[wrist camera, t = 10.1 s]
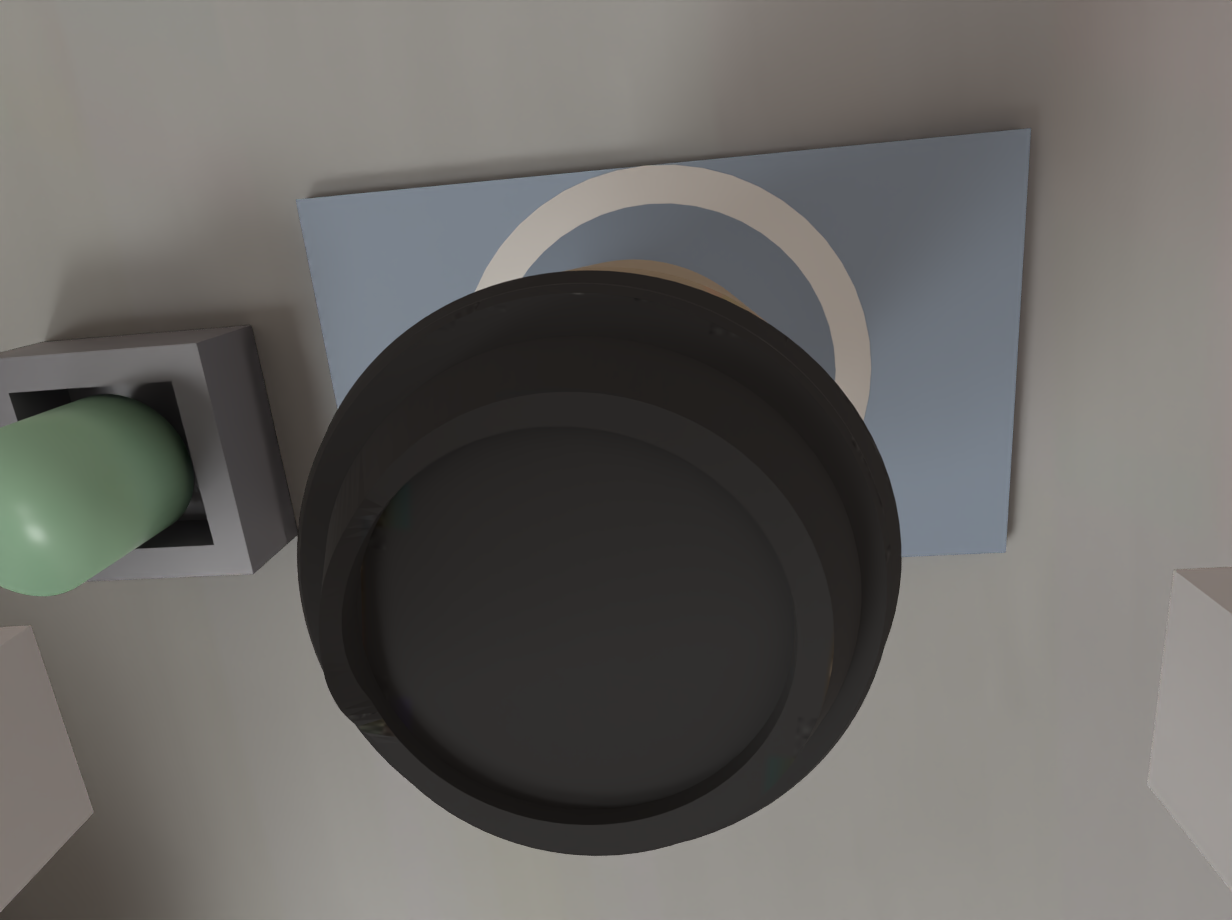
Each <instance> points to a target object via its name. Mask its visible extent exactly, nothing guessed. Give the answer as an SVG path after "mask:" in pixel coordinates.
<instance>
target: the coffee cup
mask: <svg viewBox="0 0 1232 920" xmlns="http://www.w3.org/2000/svg"><path fill="white" fill-rule="evenodd" d="M297 568H298V581H299V590H300V596H301V602H302V608H303V612H304V617H305V621H306V625H307V628H308V632H309V635H310V638H311V641H312V644H313V647H314V650H315V653H316V655H317V658H318V660H319V663H320V665H321V667H322V669H323V672H324V675H325V679H326V682H327V685H328V688H329V690H330V692H331V694H332V696H333V698H334V700H335V702H336V704H337V705H338V707H339V708H340V710H341V711H342V712H343V713H344V714H345V715H346V716H347V717H348V718H349V719H350V720H351V721H352V722H353V723H354V724H355V725H356V726H357V728H358V729H359V730H360V732H361V733H362V734H363V735H364V737H365V738H366V739H367V740H368V741H369V742H370V744H371V745H372V746H373V747H374V748H375V749H376V751H377V752H378V753H379V754H380V755H381V756H382V757H383V758H384V759H385V760H386V761H387V762H388V763H389V764H390V765H391V766H392V767H393V768H395V769H396V770H397V771H398V772H399V773H400V774H401V775H402V776H403V777H405V778H406V779H407V780H408V781H410V782H411V783H412V784H413V785H414V786H415V787H416V788H418V789H419V790H420V791H421V792H422V793H423V794H425V795H426V796H427V797H429V798H430V799H431V800H432V801H434V802H435V803H436V804H438V805H439V806H441V807H442V808H444V809H445V810H447V811H448V812H450V813H451V814H453V815H455V816H456V817H458V818H460V819H461V820H463V821H465V822H467V823H469V824H471V825H472V826H474V827H477V828H479V829H481V830H483V831H485V832H487V833H490V834H492V835H494V836H497V837H500V838H502V839H505V840H508V841H511V842H514V843H517V844H521V845H524V846H528V847H531V848H536V849H540V850H545V851H550V852H557V853H563V854H573V855H588V856H608V855H623V854H632V853H639V852H645V851H650V850H655V849H659V848H663V847H667V846H671V845H674V844H677V843H681V842H685V841H689V840H692V839H696V838H699V837H702V836H704V835H707V834H710V833H713V832H716V831H718V830H720V829H723V828H725V827H727V826H730V825H732V824H734V823H736V822H738V821H740V820H742V819H744V818H746V817H748V816H750V815H752V814H753V813H755V812H757V811H759V810H760V809H762V808H764V807H765V806H767V805H769V804H770V803H772V802H773V801H775V800H776V799H778V798H779V797H780V796H782V795H783V794H785V793H786V792H787V791H789V790H790V789H791V788H792V787H794V786H795V785H796V784H797V783H798V782H800V781H801V780H802V779H803V778H804V777H805V776H806V775H808V774H809V773H810V772H811V771H812V770H813V769H814V768H815V767H816V766H817V765H818V764H819V763H820V762H821V761H822V760H823V758H824V757H825V756H826V755H827V754H828V753H829V752H830V751H831V749H832V748H833V747H834V746H835V744H836V743H837V742H838V740H839V739H840V738H841V736H842V735H843V734H844V732H845V731H846V729H847V728H848V727H849V725H850V723H851V722H852V720H853V719H854V717H855V715H856V714H857V712H858V710H859V709H860V707H861V705H862V703H863V701H864V699H865V697H866V695H867V693H868V691H869V689H870V686H871V684H872V682H873V679H874V677H875V674H876V671H877V669H878V666H879V663H880V660H881V657H882V653H883V649H884V646H885V643H886V641H887V638H888V635H889V632H890V629H891V626H892V622H893V618H894V615H895V611H896V605H897V600H898V594H899V588H900V578H901V534H900V523H899V517H898V512H897V506H896V501H895V497H894V493H893V489H892V486H891V482H890V478H889V476H888V473H887V470H886V467H885V465H884V462H883V459H882V457H881V454H880V452H879V450H878V448H877V446H876V444H875V442H874V439H873V437H872V435H871V433H870V432H869V430H868V428H867V426H866V425H865V423H864V421H863V419H862V418H861V416H860V415H859V413H858V412H857V410H856V408H855V407H854V405H853V404H852V403H851V401H850V400H849V399H848V397H847V396H846V395H845V393H844V392H843V391H842V389H841V388H840V387H839V385H838V384H837V383H836V382H835V381H834V380H833V379H832V378H831V377H830V375H829V374H828V373H827V372H826V371H825V370H824V369H823V368H822V367H821V366H820V365H819V364H818V363H817V362H816V361H815V360H814V359H813V358H812V357H811V356H810V355H809V354H808V353H807V352H806V351H804V350H803V349H802V348H801V347H800V346H799V345H797V344H796V343H795V342H794V341H792V340H791V339H790V338H789V337H787V336H786V335H785V334H783V333H782V332H780V331H779V330H778V329H776V328H775V327H773V326H772V325H770V324H769V323H767V322H766V321H765V320H764V319H762V318H761V317H760V316H759V315H757V314H756V313H755V312H754V311H752V310H751V309H750V308H749V307H747V306H746V305H745V304H744V303H742V302H741V301H740V300H739V299H737V298H736V297H735V296H734V295H732V294H731V293H730V292H728V291H727V290H726V289H724V288H723V287H722V286H720V285H718V284H717V283H715V282H714V281H712V280H710V279H708V278H706V277H704V276H703V275H701V274H698V273H696V272H694V271H691V270H689V269H686V268H683V267H680V266H677V265H673V264H669V263H664V262H658V261H652V260H636V259H632V260H616V261H609V262H603V263H599V264H594V265H589V266H585V267H580V268H575V269H571V270H566V271H561V272H552V273H545V274H538V275H533V276H527V277H522V278H518V279H514V280H510V281H506V282H502V283H499V284H496V285H493V286H490V287H487V288H484V289H481V290H478V291H476V292H473V293H471V294H468V295H466V296H464V297H462V298H459V299H457V300H455V301H453V302H451V303H449V304H447V305H445V306H444V307H442V308H440V309H438V310H436V311H435V312H433V313H431V314H430V315H428V316H426V317H425V318H423V319H422V320H420V321H419V322H417V323H416V324H414V325H413V326H412V327H410V328H409V329H408V330H406V331H405V332H404V333H403V334H401V335H400V336H399V337H398V338H396V339H395V340H394V341H393V342H392V343H391V344H390V345H389V346H387V347H386V348H385V349H384V350H383V351H382V352H381V353H380V354H379V355H378V356H377V357H376V358H375V359H374V360H373V361H372V363H371V364H370V365H369V366H368V367H367V368H366V369H365V371H364V372H363V373H362V374H361V375H360V377H359V378H358V379H357V381H356V382H355V383H354V385H353V386H352V387H351V389H350V390H349V392H348V393H347V395H346V396H345V398H344V400H343V401H342V403H341V405H340V406H339V408H338V410H337V412H336V413H335V415H334V417H333V419H332V421H331V423H330V425H329V427H328V430H327V432H326V434H325V437H324V439H323V441H322V443H321V445H320V448H319V450H318V452H317V455H316V457H315V460H314V462H313V465H312V468H311V471H310V474H309V477H308V481H307V484H306V488H305V492H304V496H303V501H302V506H301V512H300V519H299V528H298V541H297Z"/></svg>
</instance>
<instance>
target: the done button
mask: <svg viewBox="0 0 1232 920" xmlns="http://www.w3.org/2000/svg"><path fill="white" fill-rule="evenodd" d="M193 488H194V471H193V466H192V461H191V458H190V455H189V452H188V450H187V448H186V446H185V444H184V442H183V440H182V439H181V437H180V435H179V434H178V433H177V431H176V430H175V429H174V427H173V426H172V425H171V424H170V423H169V422H168V421H167V420H166V419H165V418H164V417H163V416H161V415H160V414H159V413H158V412H157V411H155V410H154V409H152V408H151V407H149V406H147V405H145V404H144V403H142V402H140V401H137V400H135V399H132V398H129V397H125V396H121V395H115V394H98V395H92V396H89V397H85V398H82V399H79V400H77V401H74V402H71V403H68V404H65V405H63V406H60V407H57V408H54V409H51V410H49V411H46V412H43V413H40V414H37V415H34V416H32V417H29V418H26V419H23V420H20V421H18V422H15V423H12V424H9V425H6V426H4V427H1V428H0V586H1V587H3V588H5V589H8V590H11V591H13V592H17V593H21V594H25V595H32V596H52V595H58V594H62V593H65V592H68V591H70V590H73V589H74V588H76V587H78V586H79V585H81V584H82V583H84V582H85V581H87V580H88V579H90V578H92V577H93V576H95V575H96V574H98V573H99V572H101V571H102V570H104V569H105V568H107V567H108V566H110V565H111V564H113V563H114V562H116V561H117V560H119V559H120V558H122V557H123V556H125V555H126V554H128V553H129V552H131V551H133V550H134V549H136V548H137V547H139V546H140V545H142V544H143V543H145V542H146V541H148V540H149V539H151V538H152V537H154V536H155V535H157V534H158V533H160V532H161V531H163V530H164V529H166V528H167V527H169V526H170V525H172V524H173V523H175V522H176V521H177V520H178V519H179V518H180V517H181V516H182V515H183V513H184V512H185V510H186V509H187V507H188V505H189V503H190V500H191V498H192V493H193Z"/></svg>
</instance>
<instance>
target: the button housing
mask: <svg viewBox="0 0 1232 920" xmlns="http://www.w3.org/2000/svg"><path fill="white" fill-rule="evenodd" d="M98 394H115V395H121V396H125V397H129V398H132V399H135V400H137V401H140V402H142V403H144V404H145V405H147V406H149V407H151V408H152V409H154V410H155V411H157V412H158V413H159V414H160V415H161V416H163V417H164V418H165V419H166V420H167V421H168V422H169V423H170V424H171V425H172V426H173V427H174V429H175V430H176V431H177V433H178V434H179V435H180V437H181V439H182V440H183V442H184V444H185V446H186V448H187V450H188V452H189V455H190V458H191V461H192V466H193V471H194V488H193V493H192V498H191V500H190V503H189V505H188V507H187V509H186V510H185V512H184V513H183V515H182V516H181V517H180V518H179V519H178V520H177V521H176V522H175V523H173V524H172V525H170V526H169V527H167V528H166V529H164V530H163V531H161V532H160V533H158V534H157V535H155V536H154V537H152V538H151V539H149V540H148V541H146V542H145V543H143V544H142V545H140V546H139V547H137V548H136V549H134V550H133V551H131V552H129V553H128V554H126V555H125V556H123V557H122V558H120V559H119V560H117V561H116V562H114V563H113V564H111V565H110V566H108V567H107V568H105V569H104V570H102V571H101V572H99V573H98V574H96V575H95V576H93V577H92V578H90V579H88V580H87V581H109V580H132V579H154V578H177V577H199V576H222V575H244V574H254V573H255V572H256V571H257V570H259V569H260V568H261V567H262V566H263V565H264V564H265V563H266V562H268V561H269V560H270V559H271V558H272V557H273V556H274V555H275V554H276V553H278V552H279V551H280V550H281V549H282V548H283V547H284V546H285V545H287V544H288V543H289V542H290V541H291V540H292V539H293V538H294V537H296V536H297V535H298V531H297V527H296V522H295V518H294V513H293V509H292V504H291V500H290V495H289V491H288V487H287V482H286V478H285V473H284V469H283V464H282V460H281V455H280V451H279V447H278V442H277V438H276V433H275V429H274V424H273V420H272V415H271V411H270V407H269V402H268V398H267V393H266V389H265V384H264V380H263V375H262V371H261V367H260V362H259V358H258V353H257V349H256V344H255V340H254V335H253V331H252V327H251V325H247V326H234V327H222V328H209V329H197V330H184V331H172V332H159V333H147V334H134V335H122V336H109V337H97V338H84V339H72V340H59V341H47V342H40V343H36V344H32V345H28V346H24V347H20V348H16V349H12V350H8V351H4V352H0V428H1V427H4V426H6V425H9V424H12V423H15V422H18V421H20V420H23V419H26V418H29V417H32V416H34V415H37V414H40V413H43V412H46V411H49V410H51V409H54V408H57V407H60V406H63V405H65V404H68V403H71V402H74V401H77V400H79V399H82V398H85V397H89V396H92V395H98ZM87 581H85V582H87Z"/></svg>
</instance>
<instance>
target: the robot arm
mask: <svg viewBox="0 0 1232 920" xmlns="http://www.w3.org/2000/svg"><path fill="white" fill-rule="evenodd" d="M1147 785H1148V787H1149V788H1150V789H1151V790H1152V792H1153V793H1154V794H1155V795H1156V797H1157V798H1158V799H1159V800H1160V802H1161V803H1162V804H1163V806H1164V807H1165V808H1166V809H1167V811H1168V812H1169V813H1170V814H1171V816H1172V817H1173V818H1174V819H1175V821H1176V822H1177V823H1178V824H1179V826H1180V827H1181V828H1182V830H1183V831H1184V832H1185V833H1186V835H1187V836H1188V837H1189V838H1190V840H1191V841H1192V842H1193V843H1194V845H1195V846H1196V847H1197V849H1198V850H1199V851H1200V852H1201V854H1202V855H1203V856H1204V857H1205V859H1206V860H1207V861H1208V862H1209V864H1210V865H1211V866H1212V867H1213V869H1214V870H1215V871H1216V873H1217V874H1218V875H1219V876H1220V878H1221V879H1222V880H1223V881H1224V883H1225V884H1226V885H1227V886H1228V888H1229V889H1230V890H1231V892H1232V567H1218V568H1198V569H1177V570H1174V571H1173V579H1172V587H1171V595H1170V603H1169V611H1168V620H1167V628H1166V636H1165V644H1164V652H1163V660H1162V668H1161V676H1160V684H1159V693H1158V701H1157V709H1156V717H1155V725H1154V733H1153V741H1152V749H1151V758H1150V766H1149V774H1148V782H1147ZM93 813H94V811H93V808H92V805H91V802H90V799H89V796H88V793H87V790H86V787H85V784H84V781H83V778H82V775H81V772H80V769H79V766H78V763H77V760H76V757H75V754H74V751H73V748H72V745H71V743H70V740H69V737H68V734H67V731H66V728H65V725H64V722H63V719H62V716H61V713H60V710H59V707H58V704H57V701H56V698H55V695H54V692H53V689H52V686H51V683H50V680H49V677H48V674H47V671H46V668H45V665H44V662H43V659H42V656H41V653H40V651H39V648H38V645H37V642H36V639H35V636H34V633H33V630H32V627H31V625H29V626H8V627H0V912H1V911H2V910H3V909H4V908H5V907H6V906H7V905H8V904H9V903H10V902H11V901H12V900H13V898H14V897H15V896H16V895H17V894H18V893H19V892H20V891H21V890H22V889H23V888H24V887H25V886H26V885H27V883H28V882H29V881H30V880H31V879H32V878H33V877H34V876H35V875H36V874H37V873H38V872H39V871H40V870H41V869H42V867H43V866H44V865H45V864H46V863H47V862H48V861H49V860H50V859H51V858H52V857H53V856H54V855H55V854H56V853H57V851H58V850H59V849H60V848H61V847H62V846H63V845H64V844H65V843H66V842H67V841H68V840H69V839H70V838H71V836H72V835H73V834H74V833H75V832H76V831H77V830H78V829H79V828H80V827H81V826H82V825H83V824H84V823H85V822H86V820H87V819H88V818H89V817H90V816H91V815H92V814H93Z"/></svg>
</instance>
